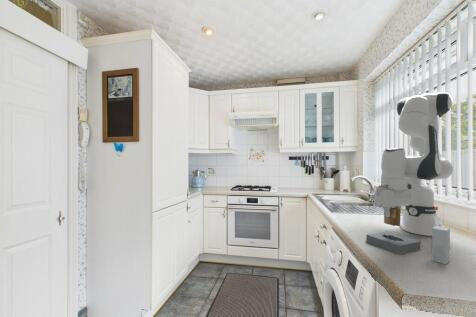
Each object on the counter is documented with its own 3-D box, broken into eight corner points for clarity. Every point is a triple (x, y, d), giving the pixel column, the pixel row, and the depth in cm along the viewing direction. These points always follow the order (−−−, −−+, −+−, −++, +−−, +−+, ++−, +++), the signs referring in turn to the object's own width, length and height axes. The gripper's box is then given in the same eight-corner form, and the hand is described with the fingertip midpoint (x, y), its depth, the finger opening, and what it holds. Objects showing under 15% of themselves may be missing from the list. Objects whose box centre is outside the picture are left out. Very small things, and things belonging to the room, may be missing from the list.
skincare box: (434, 256, 84) (435, 225, 85) (450, 260, 81) (450, 227, 81) (431, 260, 81) (431, 227, 81) (447, 264, 77) (447, 230, 77)
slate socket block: (386, 237, 104) (386, 231, 104) (420, 248, 91) (420, 241, 91) (366, 241, 98) (366, 234, 98) (399, 254, 86) (399, 245, 86)
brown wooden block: (402, 225, 93) (402, 209, 93) (396, 226, 91) (396, 209, 91) (387, 221, 98) (388, 206, 98) (381, 222, 97) (382, 206, 97)
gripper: (384, 185, 88) (384, 220, 88) (414, 185, 96) (414, 216, 96) (370, 184, 94) (369, 216, 93) (399, 183, 102) (398, 213, 102)
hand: (392, 216), depth 95 cm, fingers closed on brown wooden block, 4 cm apart
